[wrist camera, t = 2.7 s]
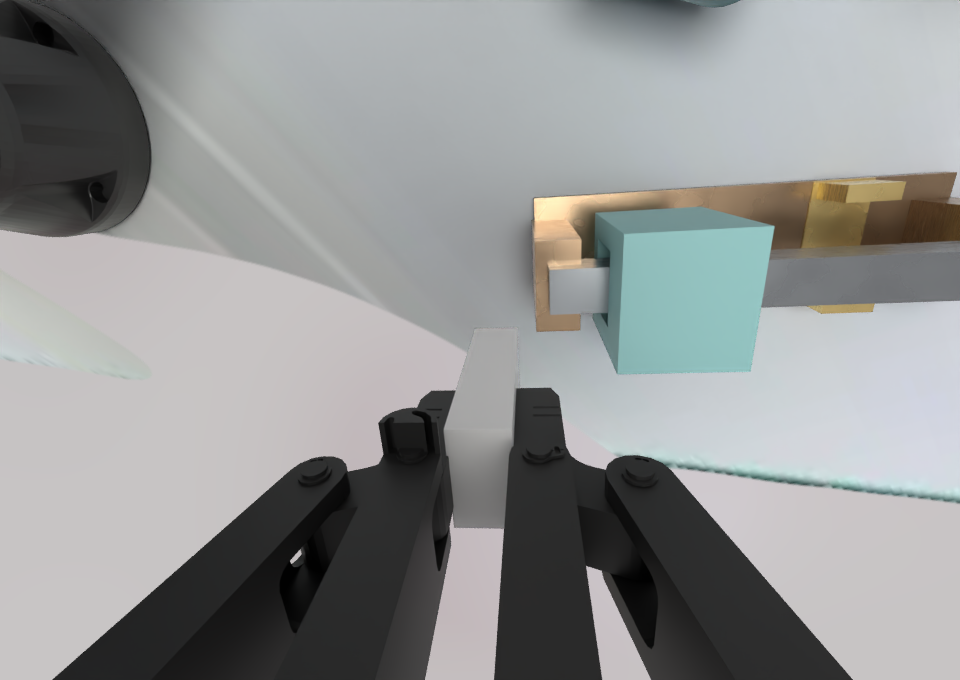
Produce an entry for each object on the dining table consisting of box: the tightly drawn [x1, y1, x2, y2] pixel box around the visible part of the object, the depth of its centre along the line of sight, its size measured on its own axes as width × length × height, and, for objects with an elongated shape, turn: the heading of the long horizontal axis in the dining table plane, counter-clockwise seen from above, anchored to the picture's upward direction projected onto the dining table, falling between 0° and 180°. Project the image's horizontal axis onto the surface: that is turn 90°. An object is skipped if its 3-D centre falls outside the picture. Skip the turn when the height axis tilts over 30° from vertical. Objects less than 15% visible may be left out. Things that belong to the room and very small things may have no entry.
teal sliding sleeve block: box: [593, 207, 775, 374], centre depth 24 cm, size 6×7×8 cm
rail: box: [532, 172, 960, 332], centre depth 27 cm, size 26×8×10 cm, turn 94°
